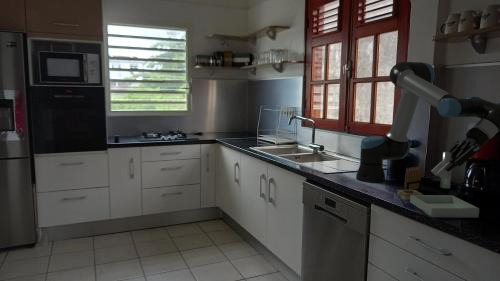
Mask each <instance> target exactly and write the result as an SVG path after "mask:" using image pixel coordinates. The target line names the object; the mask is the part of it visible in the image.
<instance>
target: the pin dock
mask: <svg viewBox="0 0 500 281" xmlns="http://www.w3.org/2000/svg"><path fill="white" fill-rule="evenodd" d="M410 195H424V193H422V192H419V190H403V189H397V191H396V196H397V197H399V198H400V199H402V200H404V201H410Z"/></svg>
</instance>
